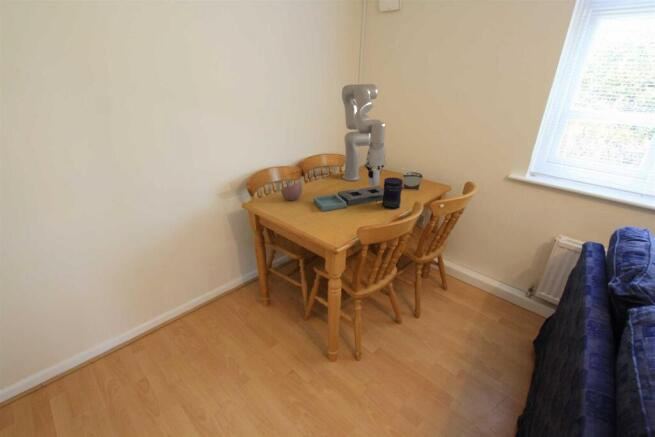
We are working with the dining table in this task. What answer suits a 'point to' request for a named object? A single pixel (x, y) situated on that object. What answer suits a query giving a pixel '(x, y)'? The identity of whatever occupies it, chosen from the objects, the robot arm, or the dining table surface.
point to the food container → (412, 180)
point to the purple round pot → (291, 191)
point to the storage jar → (392, 193)
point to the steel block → (374, 177)
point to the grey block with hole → (362, 195)
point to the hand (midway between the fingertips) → (374, 176)
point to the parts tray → (329, 202)
